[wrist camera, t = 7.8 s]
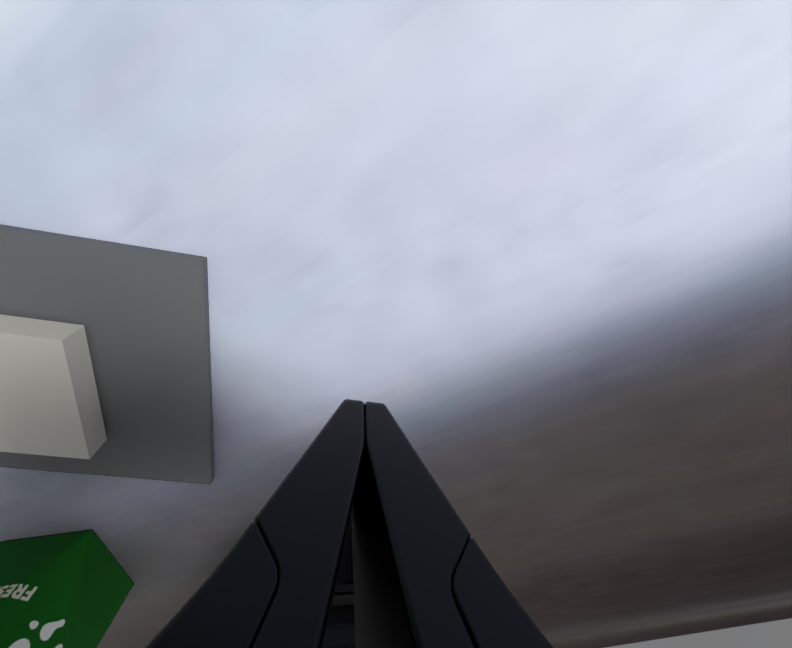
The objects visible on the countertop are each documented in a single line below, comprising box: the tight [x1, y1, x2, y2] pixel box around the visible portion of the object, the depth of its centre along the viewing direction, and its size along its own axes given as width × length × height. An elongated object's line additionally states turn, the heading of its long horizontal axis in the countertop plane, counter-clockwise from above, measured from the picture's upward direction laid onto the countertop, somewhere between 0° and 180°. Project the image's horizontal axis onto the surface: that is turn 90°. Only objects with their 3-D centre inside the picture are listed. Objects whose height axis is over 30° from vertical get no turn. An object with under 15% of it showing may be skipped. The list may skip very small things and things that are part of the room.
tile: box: [0, 314, 107, 459], centre depth 20 cm, size 8×2×8 cm
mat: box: [0, 225, 214, 484], centre depth 21 cm, size 16×20×1 cm
